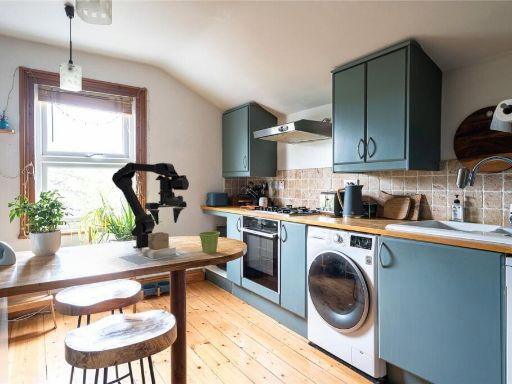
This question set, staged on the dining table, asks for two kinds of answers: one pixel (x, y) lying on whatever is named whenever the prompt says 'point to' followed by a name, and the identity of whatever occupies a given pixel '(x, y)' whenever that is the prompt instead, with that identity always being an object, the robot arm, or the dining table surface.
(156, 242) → the walnut cube
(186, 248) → the dining table surface
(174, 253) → the plinth
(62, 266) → the dining table surface
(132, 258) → the board
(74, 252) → the dining table surface
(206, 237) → the plant pot
